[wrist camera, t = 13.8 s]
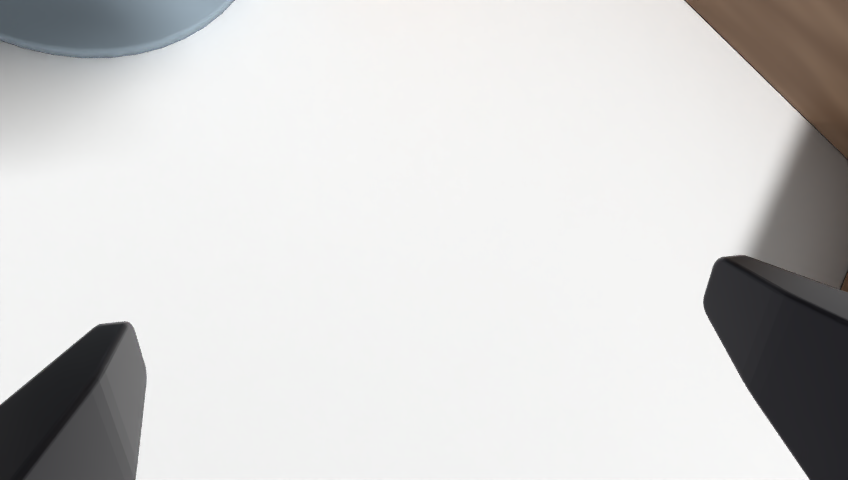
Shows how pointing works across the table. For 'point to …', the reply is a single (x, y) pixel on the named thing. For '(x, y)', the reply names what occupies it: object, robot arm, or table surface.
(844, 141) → the frame
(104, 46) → the pad
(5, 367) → the table surface
